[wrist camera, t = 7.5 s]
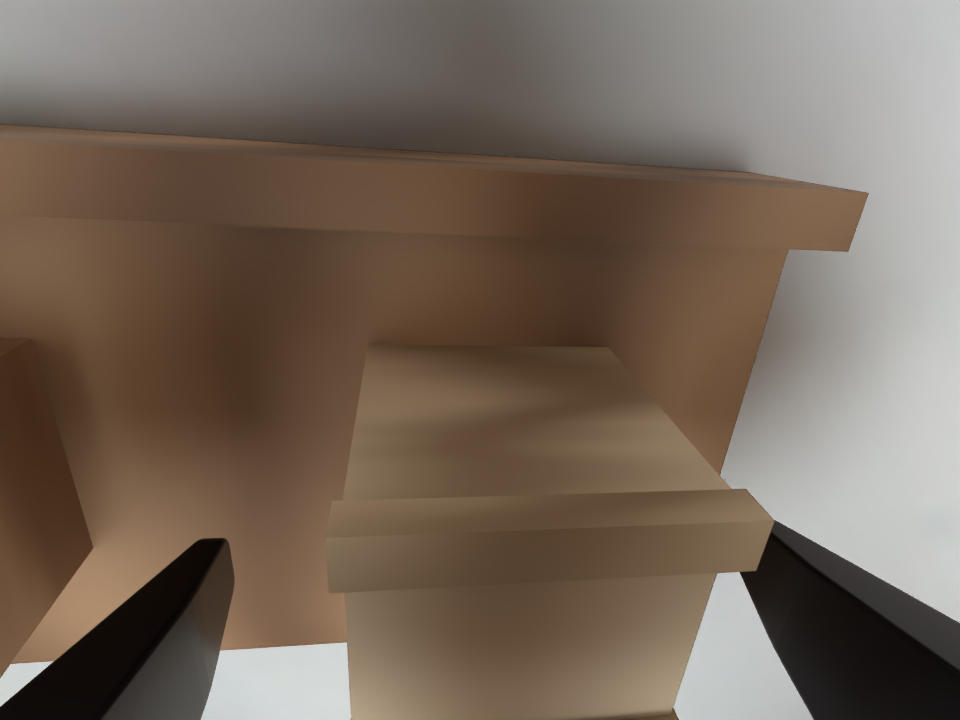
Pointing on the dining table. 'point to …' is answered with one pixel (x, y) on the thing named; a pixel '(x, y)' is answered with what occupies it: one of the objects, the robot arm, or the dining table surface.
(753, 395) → the dining table surface
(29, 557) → the box
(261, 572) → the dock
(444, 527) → the flanged wooden block
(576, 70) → the dining table surface
